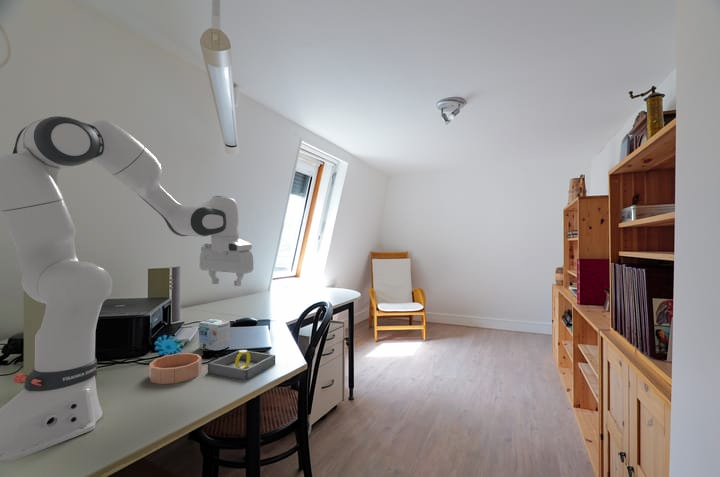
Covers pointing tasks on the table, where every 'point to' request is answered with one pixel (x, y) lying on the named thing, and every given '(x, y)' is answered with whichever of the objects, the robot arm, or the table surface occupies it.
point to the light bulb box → (213, 332)
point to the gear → (168, 346)
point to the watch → (239, 358)
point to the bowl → (175, 368)
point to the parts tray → (222, 369)
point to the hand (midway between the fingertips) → (226, 284)
